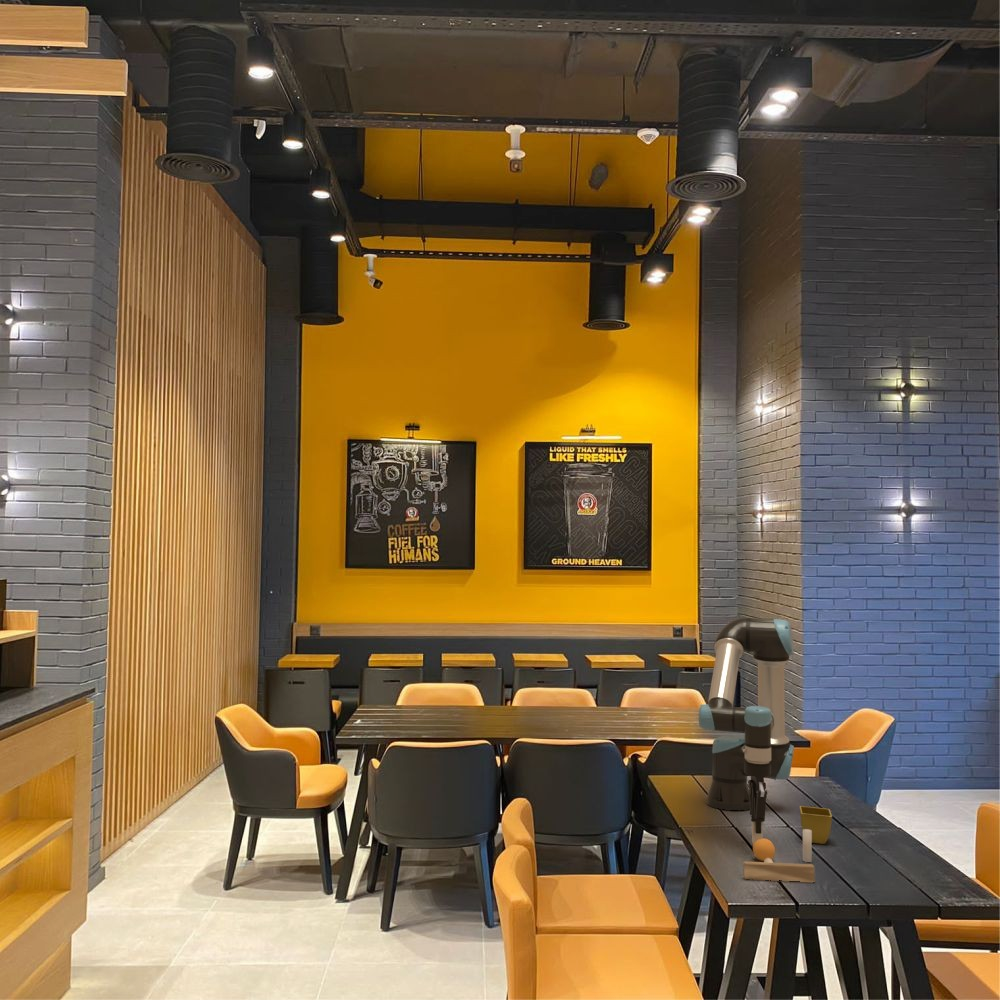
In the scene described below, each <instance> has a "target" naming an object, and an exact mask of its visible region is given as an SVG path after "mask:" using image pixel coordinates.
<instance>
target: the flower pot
mask: <svg viewBox="0 0 1000 1000" xmlns="http://www.w3.org/2000/svg"><path fill="white" fill-rule="evenodd" d="M799 816H800V824H801V830H802V832H803V829H809V830H812V843H813V844H821V845H824V844H826V843H827V841H828V839H829V836H830V834H831V829H832V821H833V815H832V811H831V810H830V808H824V807H823V808H822V807H814V806H813V807H812V806H803V805H799Z"/></svg>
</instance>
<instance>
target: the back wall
mask: <svg viewBox="0 0 1000 1000" xmlns="http://www.w3.org/2000/svg"><path fill="white" fill-rule="evenodd" d="M742 870H743V872H742V873H743V876H744V877H743V878H745V879H751V880H750V881H765V880H769V881H770V880H771V882H780V881H779V880H782V881H781V882H789V881H800V882H799V883H813V882H815V883H816V881H815V879H816V878H815V877H816V874H815V873H816V867H815V865H814V864H812V863H792V862H791V863H788V862H787V863H786V862H784V863H783V862H774V863H767V862H764V861H743V869H742ZM745 879H744V880H745ZM752 879H753V880H752ZM769 881H768V882H769Z"/></svg>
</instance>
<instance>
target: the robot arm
mask: <svg viewBox="0 0 1000 1000" xmlns="http://www.w3.org/2000/svg"><path fill="white" fill-rule="evenodd" d="M793 639H794V637H793V632H792V628H791V624H790V622H789V621H788V620H786V619H779V618H778V619H777V618H766V617H765V618H762V617H761V618H760V617H759V618H757V617H739V618H736V619H734V620H733V619H732V621H730V622H729V623H726V625H725V626H723V628H722V629H721V630H720V631H719V633H718V634H717V636H716V639H715V641H714V647H713V648H714V649H713V650H714V652H715V659H714V664H713V671H712V676H711V677H712V678H711V684H710V689H709V695H708V700H707V703H706V704H700V706H699V709H698V725H699V727H700V728H701V729H704V730H709V731H712V732H713V731H714V732H715V731H717V732H718V731H719V732H729V733H730V732H732V733H739V734H731V735H721V736H718V737H716V738H715V739H714V740H713V742H712V750H711V753H712V760H711V762H712V767H711V768H712V774H711V777H712V778H711V779H712V781H711V784H710V787H709V789H708V792H707V796H706V804H707V805H708V806H710V807H711V808H714V809H717V808H719V810H722V809H725V810H724V811H730V810H739V811H738V812H741V811H740V810H744V811H749V815H750V817H751V819H750V822H751V844H752V845H754V843H755V842H756V841H757V840H758V839H762V838H763V828H764V827H763V822H765V821H766V807H767V806H766V804H767V795H768V790H766V789H767V784H766V782H765V779H770V780H771V779H772V780H775V781H776V780H782V781H786V780H788V779H789V778H790V777H791V771H792V765H793V764H792V763H793V758H794V757H793V756H794V751H795V746H794V745H792V744H791V743H790V738H789V737H788V736H787V735H786V733H785V731H786V729H785V728H786V727H785V726H786V725H785V723H786V721H785V720H786V719H785V718H786V717H785V716H786V715H785V713H786V712H785V710H786V709H785V692H786V691H785V688H786V687H785V686H786V685H785V681H786V680H785V665H786V664H787V663H788V662H789V661H790V656H792V655H794V654H795V653H794V651H795V649H794V640H793ZM744 653H752V655H753V660H754V661H755V662H756V663H757V693H758V694H757V705H751V706H746V707H738V706H737V707H736V706H734V699H735V693H736V685H737V679H738V678H737V677H738V671H739V664H740V658H741V657H742V656H744V655H743V654H744ZM740 733H741V734H744V735H740ZM748 777H750V779H748ZM748 809H749V810H748Z"/></svg>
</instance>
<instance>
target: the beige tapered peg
mask: <svg viewBox="0 0 1000 1000" xmlns="http://www.w3.org/2000/svg"><path fill="white" fill-rule="evenodd" d="M812 848H813V847H812V830H809V829H803V831H802V862H803V861H805V862H804V863H806V862H811V863H812V861H813V855H812V854H813V853H812V850H813V849H812Z"/></svg>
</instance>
